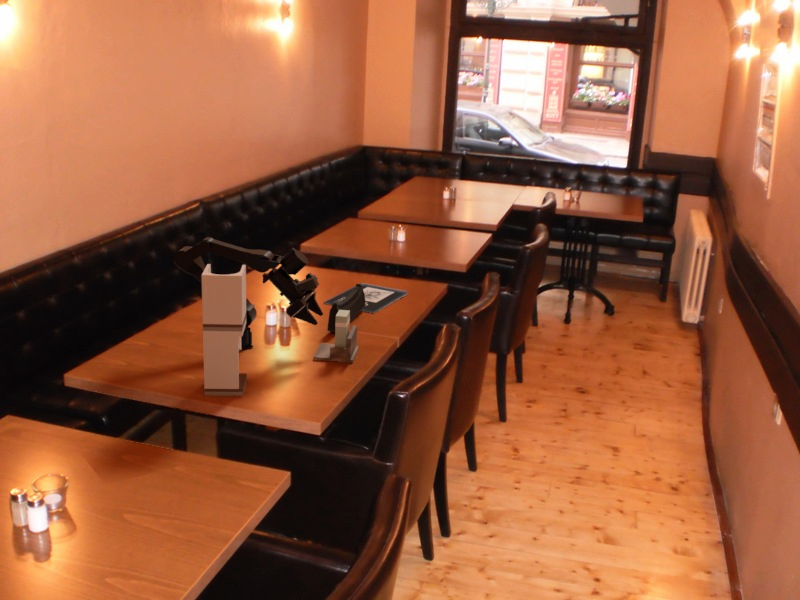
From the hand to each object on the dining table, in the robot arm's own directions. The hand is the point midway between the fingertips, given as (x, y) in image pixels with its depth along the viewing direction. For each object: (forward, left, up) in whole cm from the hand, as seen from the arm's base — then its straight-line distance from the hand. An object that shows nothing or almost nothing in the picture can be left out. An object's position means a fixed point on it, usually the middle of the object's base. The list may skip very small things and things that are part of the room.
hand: (319, 319), depth 271 cm
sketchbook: (+47, +41, -12) cm, 63 cm away
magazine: (+25, +22, -12) cm, 35 cm away
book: (+6, -5, -10) cm, 13 cm away
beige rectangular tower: (-37, -11, -11) cm, 40 cm away
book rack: (+4, -4, -11) cm, 13 cm away
